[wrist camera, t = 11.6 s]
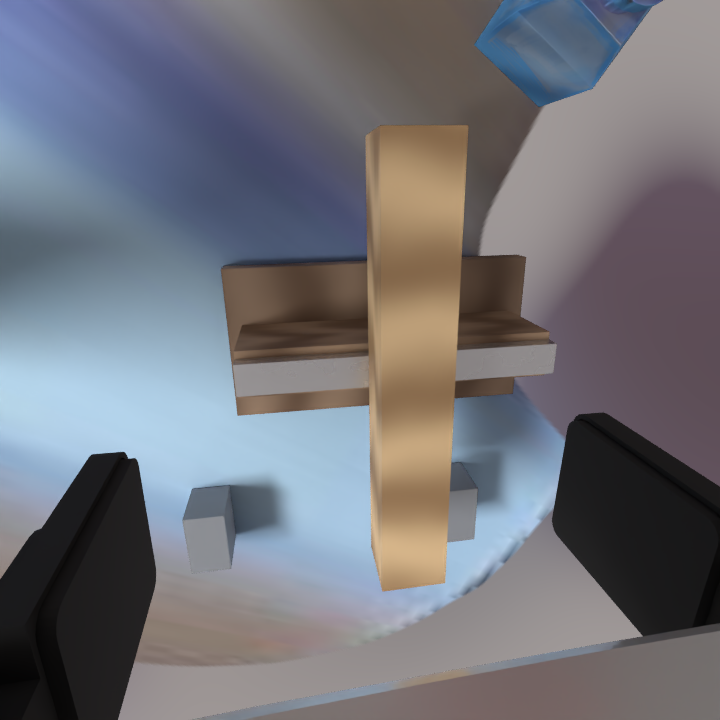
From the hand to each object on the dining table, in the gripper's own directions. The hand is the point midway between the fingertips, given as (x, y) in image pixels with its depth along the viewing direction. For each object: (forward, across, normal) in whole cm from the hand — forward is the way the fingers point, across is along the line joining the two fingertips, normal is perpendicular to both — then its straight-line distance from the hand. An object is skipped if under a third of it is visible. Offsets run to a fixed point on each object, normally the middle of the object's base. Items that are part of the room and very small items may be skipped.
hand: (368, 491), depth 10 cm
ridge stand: (+26, -6, +4) cm, 27 cm away
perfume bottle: (+26, -17, -16) cm, 35 cm away
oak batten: (+18, -6, +4) cm, 19 cm away
